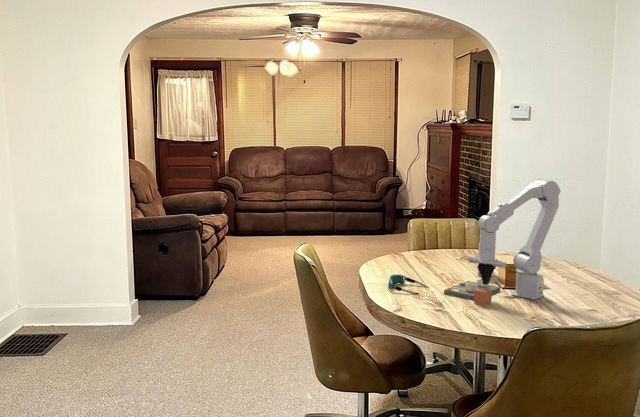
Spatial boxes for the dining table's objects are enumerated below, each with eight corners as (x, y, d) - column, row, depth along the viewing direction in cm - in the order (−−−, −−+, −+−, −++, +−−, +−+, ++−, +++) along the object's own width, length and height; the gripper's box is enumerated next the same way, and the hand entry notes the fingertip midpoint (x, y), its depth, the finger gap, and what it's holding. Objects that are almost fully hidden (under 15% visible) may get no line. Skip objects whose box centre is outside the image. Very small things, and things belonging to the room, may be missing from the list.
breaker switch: (486, 285, 238) (486, 278, 237) (482, 286, 236) (482, 279, 235) (480, 284, 239) (481, 277, 239) (477, 285, 237) (477, 278, 237)
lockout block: (491, 303, 220) (491, 289, 220) (485, 306, 217) (485, 292, 216) (480, 300, 223) (480, 287, 223) (474, 303, 220) (474, 290, 219)
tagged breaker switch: (475, 289, 231) (475, 282, 231) (471, 291, 229) (471, 284, 229) (469, 288, 233) (469, 281, 233) (465, 290, 231) (465, 283, 230)
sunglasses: (396, 282, 250) (397, 271, 249) (430, 292, 243) (432, 280, 242) (381, 290, 238) (383, 278, 237) (416, 301, 231) (418, 288, 230)
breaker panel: (500, 290, 236) (500, 284, 236) (477, 300, 223) (477, 294, 223) (467, 284, 246) (468, 278, 245) (444, 293, 233) (444, 287, 232)
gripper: (464, 246, 226) (463, 282, 228) (500, 252, 216) (499, 289, 218) (473, 244, 231) (472, 279, 233) (509, 249, 222) (508, 285, 223)
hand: (485, 284), depth 226 cm, fingers closed
